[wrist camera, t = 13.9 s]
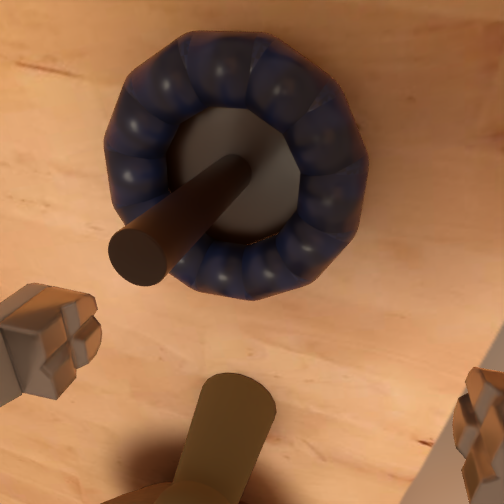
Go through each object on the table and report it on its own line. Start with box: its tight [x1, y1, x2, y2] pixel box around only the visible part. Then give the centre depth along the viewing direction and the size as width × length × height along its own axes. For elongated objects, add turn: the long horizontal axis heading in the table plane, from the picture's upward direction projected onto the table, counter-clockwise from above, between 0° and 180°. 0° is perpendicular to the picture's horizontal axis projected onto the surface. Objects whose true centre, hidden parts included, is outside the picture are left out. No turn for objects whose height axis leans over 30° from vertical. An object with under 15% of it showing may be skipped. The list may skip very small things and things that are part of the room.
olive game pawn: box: [153, 373, 276, 504], centre depth 25 cm, size 6×6×11 cm
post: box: [108, 107, 300, 286], centre depth 17 cm, size 8×8×11 cm
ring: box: [104, 31, 369, 301], centre depth 19 cm, size 13×13×3 cm
